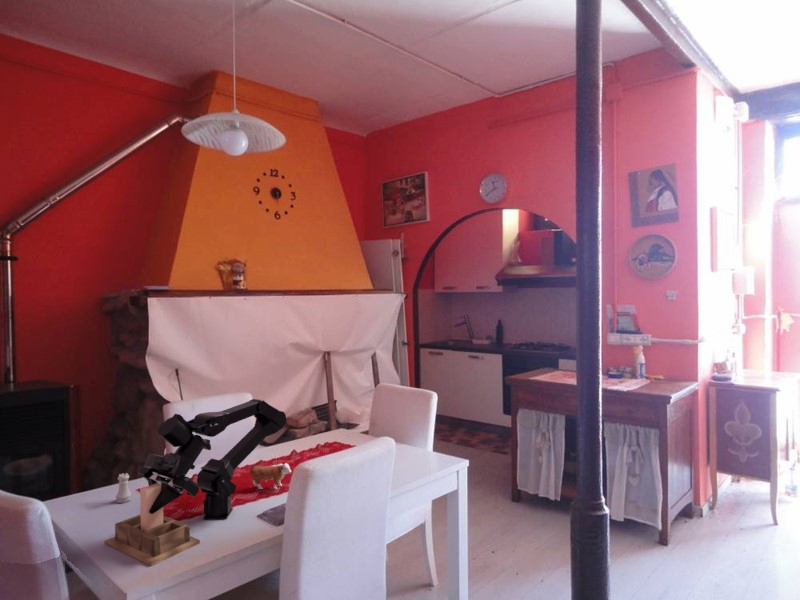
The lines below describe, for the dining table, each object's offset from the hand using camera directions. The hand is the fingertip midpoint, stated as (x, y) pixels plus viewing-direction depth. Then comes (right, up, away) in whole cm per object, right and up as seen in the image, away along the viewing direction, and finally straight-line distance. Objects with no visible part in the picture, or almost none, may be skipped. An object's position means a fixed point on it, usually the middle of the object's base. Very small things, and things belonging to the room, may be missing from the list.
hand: (147, 512), depth 130 cm
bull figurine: (+22, -8, +39) cm, 45 cm away
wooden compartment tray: (+1, -8, +1) cm, 9 cm away
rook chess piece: (-21, -8, +29) cm, 37 cm away
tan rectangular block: (+1, -7, +1) cm, 7 cm away
